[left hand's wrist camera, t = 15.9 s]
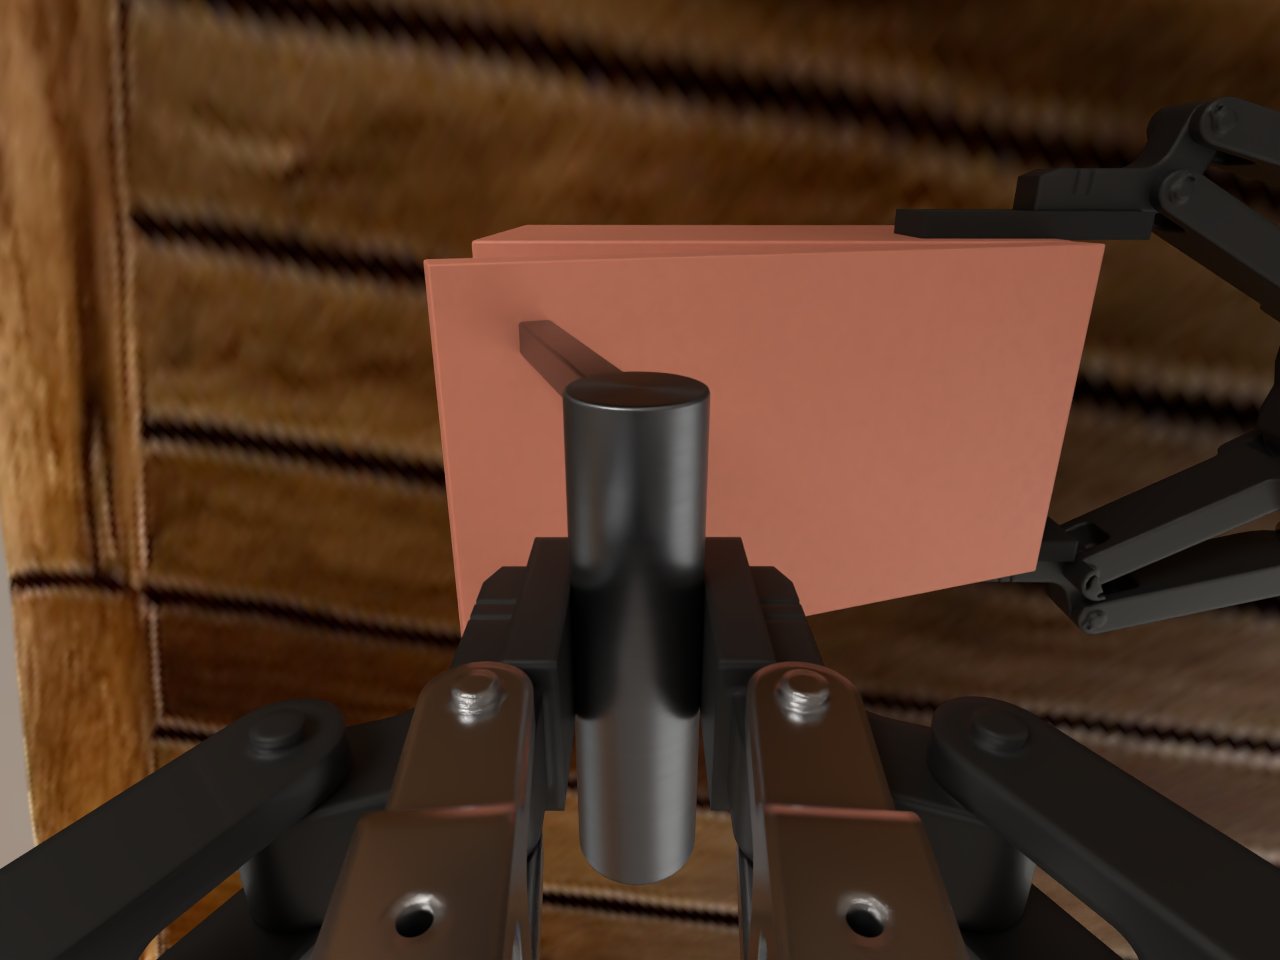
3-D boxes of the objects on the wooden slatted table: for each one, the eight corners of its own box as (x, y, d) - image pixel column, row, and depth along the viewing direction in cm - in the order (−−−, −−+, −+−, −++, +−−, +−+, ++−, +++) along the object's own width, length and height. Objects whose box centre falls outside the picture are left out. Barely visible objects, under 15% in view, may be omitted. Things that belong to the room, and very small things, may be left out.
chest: (536, 454, 33) (495, 550, 24) (524, 224, 30) (470, 240, 21) (917, 456, 33) (1013, 554, 24) (950, 225, 29) (1075, 240, 21)
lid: (463, 657, 19) (531, 971, 11) (422, 259, 15) (481, 329, 8) (1007, 555, 24) (1303, 723, 17) (1070, 241, 21) (1481, 272, 13)
